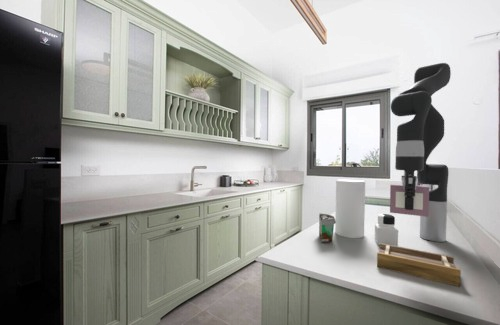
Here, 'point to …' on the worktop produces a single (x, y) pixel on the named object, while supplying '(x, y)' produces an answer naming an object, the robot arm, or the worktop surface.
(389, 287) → the worktop surface
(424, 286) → the worktop surface
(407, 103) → the robot arm
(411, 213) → the tea box
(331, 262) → the worktop surface
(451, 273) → the wooden serving tray
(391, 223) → the medicine bottle
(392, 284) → the worktop surface
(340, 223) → the cylinder
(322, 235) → the food container
